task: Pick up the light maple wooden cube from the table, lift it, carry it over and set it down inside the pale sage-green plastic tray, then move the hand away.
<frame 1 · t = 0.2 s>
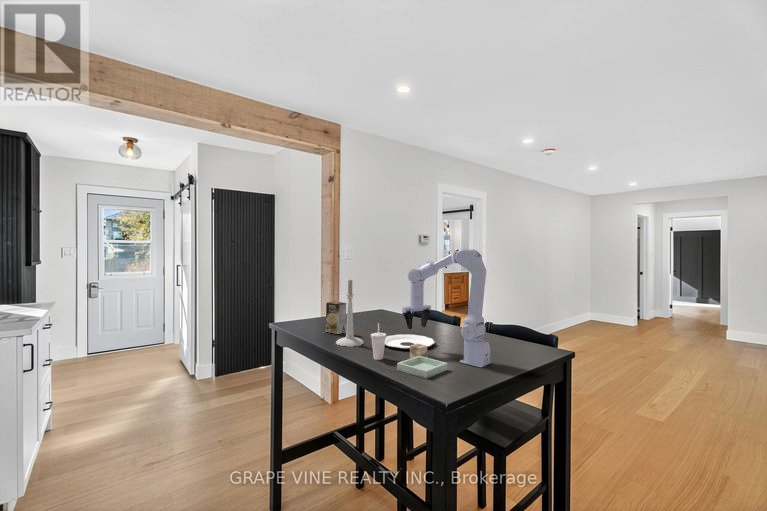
hand: (416, 327, 154), 10 cm above the table, tool pointing down, fingers open, 7 cm apart
maple cube: (418, 358, 143), on the table
coffee box: (335, 333, 186), on the table
green tray: (422, 369, 128), on the table
smoothie: (378, 359, 142), on the table
candlestick: (349, 343, 165), on the table
plate: (407, 345, 165), on the table
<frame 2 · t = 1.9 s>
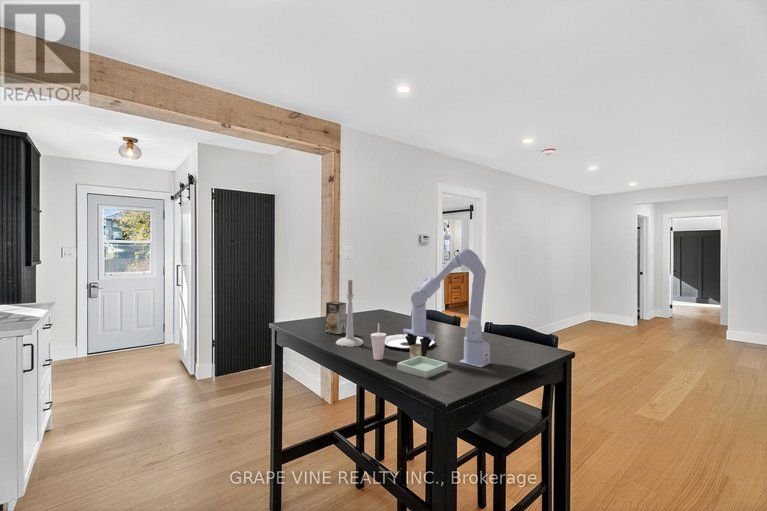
hand: (418, 354, 143), 1 cm above the table, tool pointing down, fingers closed on maple cube, 5 cm apart
maple cube: (418, 357, 143), on the table, touching gripper
everything else where it was.
when the fingers open (3 cm above the table, at t = 5.8 s): maple cube drops 1 cm, resting on green tray.
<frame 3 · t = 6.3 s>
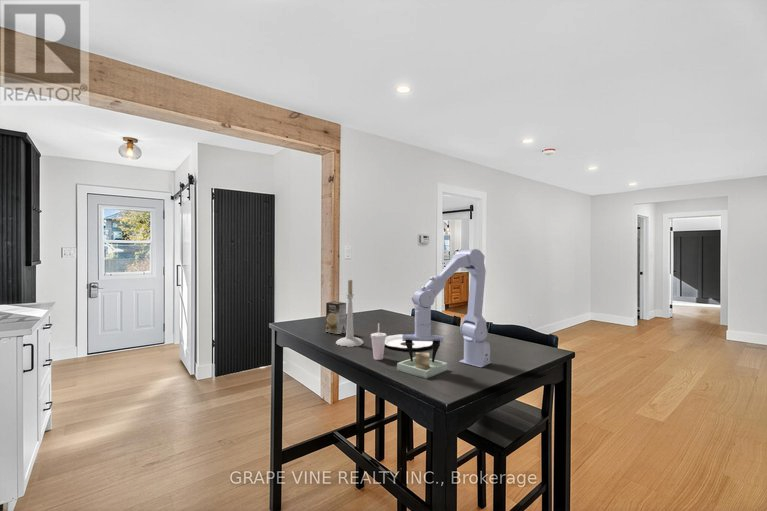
hand: (422, 361, 128), 3 cm above the table, tool pointing down, fingers open, 7 cm apart
maple cube: (422, 368, 128), point 1 cm above the table, touching green tray
everything else where it was.
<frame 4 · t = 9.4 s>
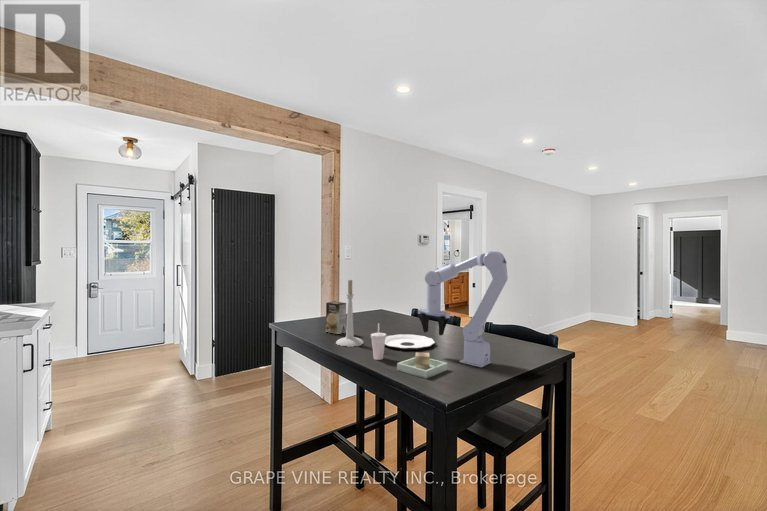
hand: (433, 333, 145), 9 cm above the table, tool pointing down, fingers open, 7 cm apart
nothing on the table moved.
at the end: maple cube inside the target area on the green tray (0.1 cm from its centre), point 0.6 cm above the green tray's base; maple cube tilted 0°; the gripper is holding nothing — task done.
